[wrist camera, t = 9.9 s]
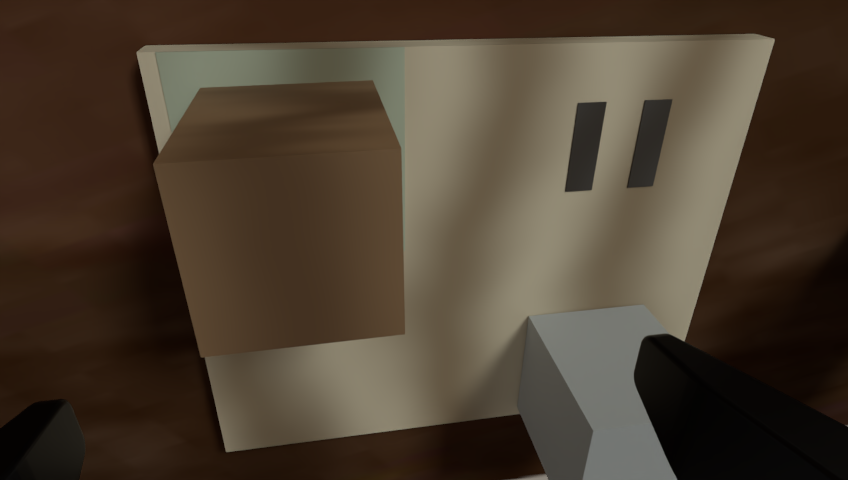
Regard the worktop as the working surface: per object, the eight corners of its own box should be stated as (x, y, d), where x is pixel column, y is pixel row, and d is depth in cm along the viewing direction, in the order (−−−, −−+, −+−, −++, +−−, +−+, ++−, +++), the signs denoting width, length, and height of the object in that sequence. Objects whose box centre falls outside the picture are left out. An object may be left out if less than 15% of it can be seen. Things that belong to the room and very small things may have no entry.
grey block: (643, 304, 24) (737, 410, 19) (621, 393, 26) (699, 509, 21) (528, 316, 23) (593, 430, 18) (517, 406, 25) (570, 531, 20)
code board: (754, 33, 20) (776, 39, 19) (657, 379, 28) (669, 395, 27) (144, 45, 17) (135, 52, 16) (228, 433, 25) (225, 453, 24)
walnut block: (372, 80, 17) (401, 148, 12) (379, 225, 20) (405, 334, 15) (200, 87, 17) (152, 164, 11) (229, 238, 19) (200, 357, 14)
